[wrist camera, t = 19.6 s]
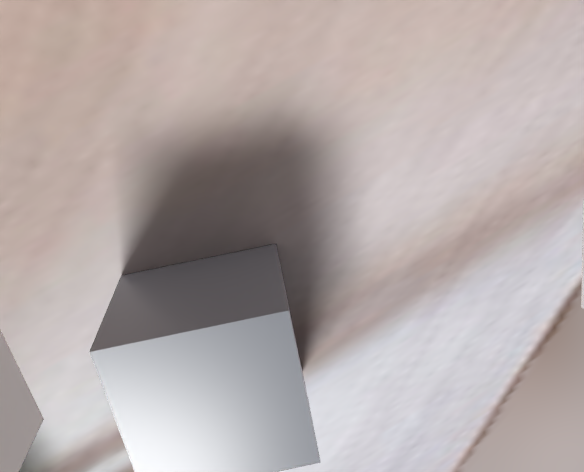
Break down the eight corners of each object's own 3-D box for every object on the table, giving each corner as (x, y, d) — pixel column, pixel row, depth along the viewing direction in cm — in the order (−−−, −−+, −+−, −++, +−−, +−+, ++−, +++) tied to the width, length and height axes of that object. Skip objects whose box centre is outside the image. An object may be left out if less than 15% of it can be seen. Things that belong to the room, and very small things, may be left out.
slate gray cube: (276, 243, 36) (289, 310, 28) (302, 371, 40) (320, 462, 32) (121, 275, 36) (89, 352, 28) (163, 401, 40) (145, 500, 32)
